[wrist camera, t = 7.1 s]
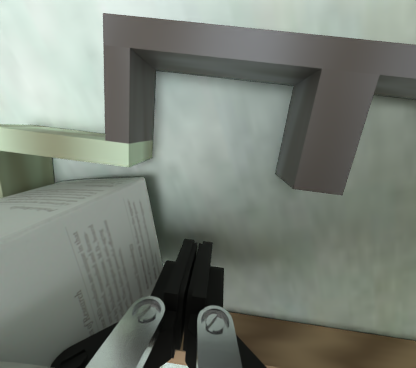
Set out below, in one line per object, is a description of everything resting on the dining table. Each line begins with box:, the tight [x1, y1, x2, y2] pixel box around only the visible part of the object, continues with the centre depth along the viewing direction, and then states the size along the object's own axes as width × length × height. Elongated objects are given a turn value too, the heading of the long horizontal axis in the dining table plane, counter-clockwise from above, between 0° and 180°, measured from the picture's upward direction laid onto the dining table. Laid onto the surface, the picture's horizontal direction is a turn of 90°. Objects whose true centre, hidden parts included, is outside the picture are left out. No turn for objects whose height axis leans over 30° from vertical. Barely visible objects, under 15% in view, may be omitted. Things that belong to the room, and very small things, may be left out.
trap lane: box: [0, 13, 416, 368], centre depth 11 cm, size 27×16×3 cm, turn 83°
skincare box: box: [0, 177, 163, 367], centre depth 9 cm, size 6×6×7 cm
